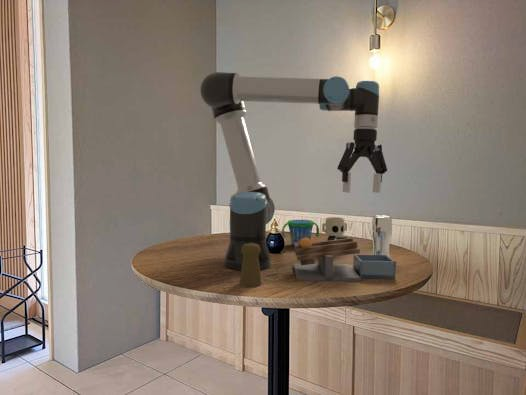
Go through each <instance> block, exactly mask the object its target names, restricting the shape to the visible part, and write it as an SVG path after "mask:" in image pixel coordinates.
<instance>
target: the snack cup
mask: <svg viewBox="0 0 526 395" xmlns="http://www.w3.org/2000/svg"><path fill="white" fill-rule="evenodd" d="M287 226H288V228H289V236H290V243H291V246H294V243H295V242H298V244H299V241H300V240H301V239H302V238H308V239H310V240H312V239H311V238H312V234H313V233H312V231H313V228H314V226H316V228H315V229H316V234H315V237H316V238H318V237H320V228H319V225H318V224H317V223H316V222H315V221H313V220H310V219H290V220H288V221H287V222H286V223H285V224H283V227H282V229H281V235H282V236H281V237H282V238H283V239H285V238H286V236H285V228H286V227H287ZM294 247H295V246H294Z"/></svg>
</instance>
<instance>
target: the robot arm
mask: <svg viewBox="0 0 526 395" xmlns="http://www.w3.org/2000/svg"><path fill="white" fill-rule="evenodd" d="M199 88H200V90H199V92H200V96H201V99H202V100H203V102H204V103H205V104H206V105H207V106H208V107H211V110H212V115H213V118H214V121H215V122H217V123H218V124H219V125H220V127H221V131H222V134H223V138H224V142H225V145H226V149H227V152H228V156H229V160H230V164H231V168H232V171H233V175H234V178H235V182H236V185H237V191H236V192H235V193H234V194H232V195H231V196H230V202H229V243H228V247H227V248H226V253H225V255H224V262H223V264H224V267H226V268H229V269H232V270H239V271H241V269H242V262H243V254H242V252H241V248H242V246H243V245H244V244H248V243H254V244H258V245H259V246H260V254H259V256H258V258H259V266H260V270H263V269H267V268H270V267H271V266H272V265H271V263H272V262H271V260H272V259H271V255H270V251H269V248H268V245H267V242H266V240H267V239H266V234H267V233H266V232H267V230H266V228H267V225H268V224H269V223H270V222H271V221H272V219H273V217H274V214H275V212H276V211H275V210H276V209H275V208H276V207H275V204H274V201H273V199H272V198H271V197H270V193H269V189H268V187H267V185H266V184H264V183H263V182H262V179H261V176H260V173H259V170H258V166H257V161H256V158H255V155H254V151H253V147H252V144H251V140H250V136H249V133H248V129H247V125H246V122H245V116H246V114H247V109H246V105H245V102H255V103H256V102H258V103H259V102H260V103H282V104H283V103H284V104H285V103H286V104H289V103H290V104H312V105H313V104H315V105H319V109H320V110H321V111H327V112H333V111H334V112H336V111H337V112H339V111H340V112H341V111H343V112H346V111H347V112H353V111H354V119H353V120H354V122H353V127H354V128H353V129H354V130H353V138H352V139H353V141H352V142H346V144H345V150H344V152H343V155H342V157H341V159H340V161H339V164H338V165H337V168H336V169H337V170H338V171H340V173H341V181H342V193H351V181H352V180H351V179H352V178H351V177H352V172H350V171H351V169H352V168H353V167H354V165H355V164H356V162H357V161H358V160H359V158H366V159H368V160H369V162H370V164H371V166H372V168H373V170H374V171H375V173H373V180H372V181H373V183H372V184H373V186H372V193H378V194H380V193H381V184H382V182H383V175H384V174H386V172H388V168H387V164H386V160H385V156H384V153H383V146H382V144H375V142H376V141H377V139H378V138H377V137H378V130H377V128H378V122H379V121H378V119H379V116H378V115H379V104H380V84H379V82H377V81H375V80H368V79H367V80H360V81H358V82H357V83H356V85H355V87H350V85H349V83H348V81H347V80H346V79H345V78H344V77H341V76H339V75H336V76H332V77H330V78H303V77H302V78H301V77H300V78H299V77H269V76H267V77H266V76H265V77H263V76H241V75H240V73H238V72H224V71H223V72H221V71H219V72H218V71H215V72H212V73H209V74H208V75H206V76H205V77H204V79H203V80H202V82H201V84H200V87H199Z"/></svg>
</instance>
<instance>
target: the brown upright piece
mask: <svg viewBox="0 0 526 395" xmlns="http://www.w3.org/2000/svg"><path fill="white" fill-rule="evenodd" d="M241 252H242V254H243V262H242V269H241V270H240V277H239V278H240V279H239V283H240V284H241V285H240V284H239V285H240V286H242V285H244V286H243V287H246V286H255V287H259V285H260V286H261V285H262V276H261V269H260V266H259V258H258V256H259V254H260V246H259V245H258V244H254V243H248V244H244V245H243V246H242V248H241Z"/></svg>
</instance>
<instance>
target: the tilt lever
mask: <svg viewBox="0 0 526 395" xmlns="http://www.w3.org/2000/svg"><path fill="white" fill-rule="evenodd" d="M293 249H294V253H295V257H296V260H297V261H299V263H300V264H301V265H309V264H316V261H315V259H318V258H324V257H325V255H332V256H333V257H340V256H347V255H354V254H361V250H360V248H359V247H358V242H357V241H354V238H353V237H348V236H347V235H341V236H338V237H336V238H334V240H330V241H327V240H324V241H322V240H321V241H315V242H312V247H306V248H300V246H299V244H298V242H295V243H294V248H293Z"/></svg>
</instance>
